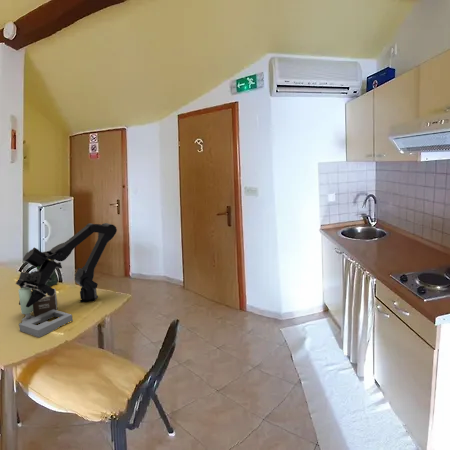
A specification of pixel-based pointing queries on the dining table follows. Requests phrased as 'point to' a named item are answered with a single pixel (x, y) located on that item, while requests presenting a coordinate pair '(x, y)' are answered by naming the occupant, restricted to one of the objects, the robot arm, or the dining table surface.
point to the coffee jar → (53, 276)
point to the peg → (25, 303)
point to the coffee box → (45, 304)
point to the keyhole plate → (45, 323)
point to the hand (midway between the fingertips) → (23, 306)
